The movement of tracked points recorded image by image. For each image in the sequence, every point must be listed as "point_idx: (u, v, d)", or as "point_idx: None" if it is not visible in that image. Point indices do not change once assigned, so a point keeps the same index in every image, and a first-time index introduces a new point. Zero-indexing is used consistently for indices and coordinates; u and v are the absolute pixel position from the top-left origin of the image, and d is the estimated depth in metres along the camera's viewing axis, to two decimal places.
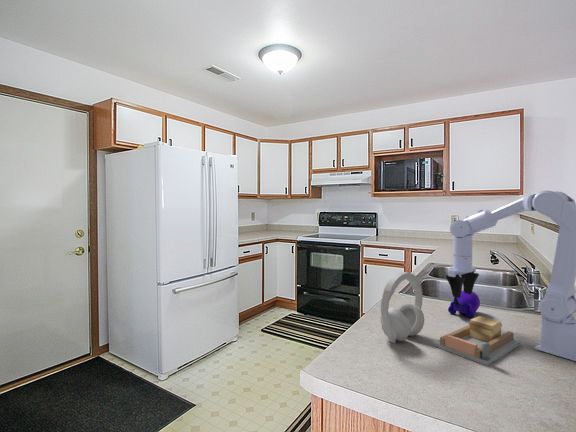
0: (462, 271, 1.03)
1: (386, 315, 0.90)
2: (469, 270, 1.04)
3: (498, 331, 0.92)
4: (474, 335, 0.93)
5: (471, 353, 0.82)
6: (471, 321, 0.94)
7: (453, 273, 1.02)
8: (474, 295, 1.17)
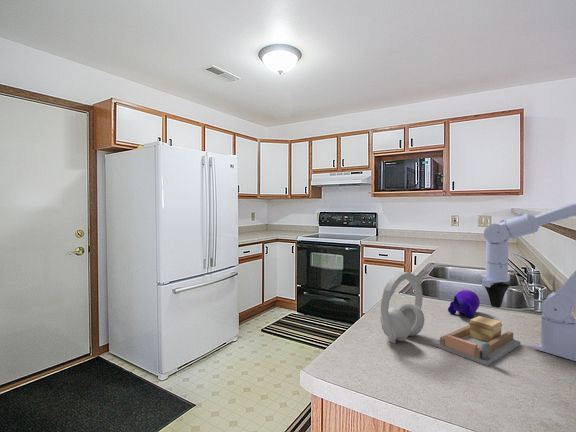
0: (497, 280, 0.94)
1: (386, 315, 0.90)
2: (505, 279, 0.94)
3: (498, 331, 0.92)
4: (474, 335, 0.93)
5: (471, 353, 0.82)
6: (471, 321, 0.94)
7: (488, 283, 0.93)
8: (474, 295, 1.17)
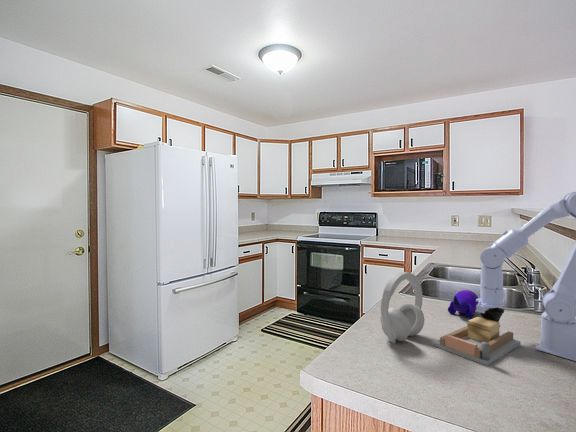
0: (492, 306, 0.92)
1: (386, 315, 0.90)
2: (500, 305, 0.93)
3: (496, 332, 0.91)
4: (472, 336, 0.93)
5: (471, 353, 0.82)
6: (469, 322, 0.93)
7: (482, 309, 0.91)
8: (473, 295, 1.17)
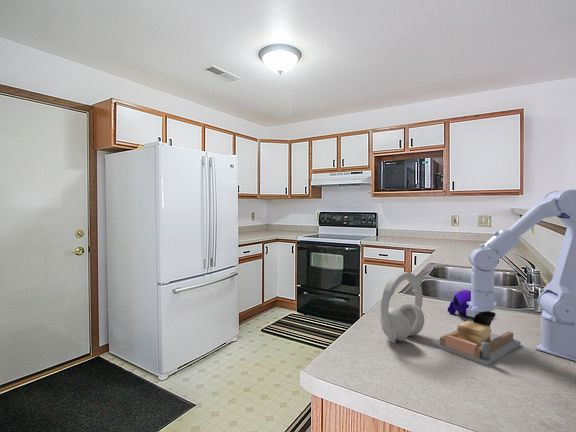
0: (483, 310, 0.89)
1: (386, 315, 0.90)
2: (491, 308, 0.89)
3: (487, 337, 0.88)
4: None
5: (471, 353, 0.82)
6: (459, 326, 0.90)
7: (472, 313, 0.87)
8: None
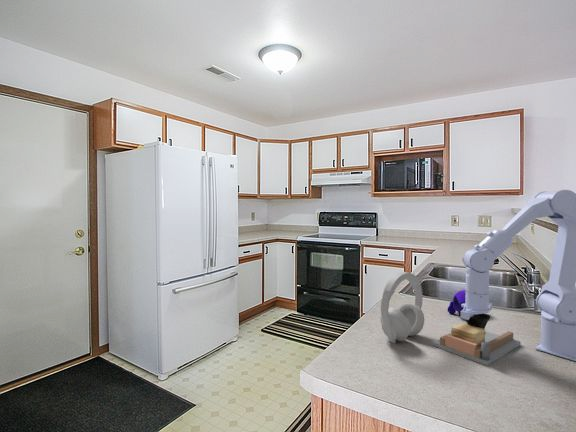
0: (477, 312, 0.87)
1: (386, 315, 0.90)
2: (485, 311, 0.87)
3: (481, 340, 0.86)
4: None
5: (471, 353, 0.82)
6: (453, 329, 0.88)
7: (466, 315, 0.86)
8: None
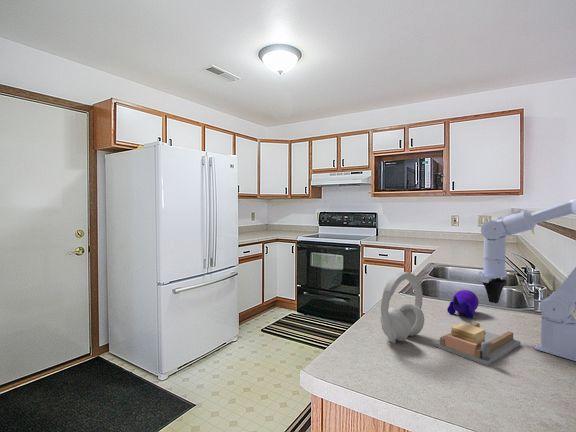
0: (495, 276, 0.95)
1: (386, 315, 0.90)
2: (502, 275, 0.96)
3: (481, 340, 0.86)
4: None
5: (471, 353, 0.82)
6: (453, 329, 0.88)
7: (486, 279, 0.94)
8: (473, 295, 1.17)
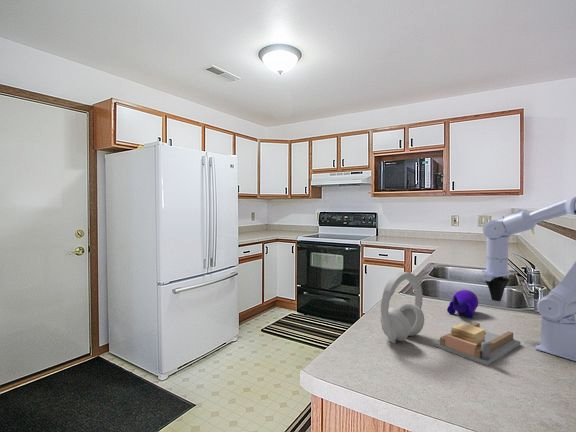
0: (498, 275, 0.97)
1: (386, 315, 0.90)
2: (505, 274, 0.98)
3: (481, 340, 0.86)
4: None
5: (471, 353, 0.82)
6: (453, 329, 0.88)
7: (488, 277, 0.96)
8: (473, 295, 1.17)
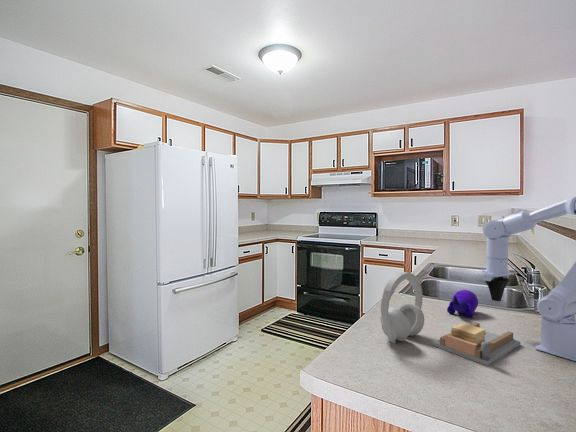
0: (498, 275, 0.97)
1: (386, 315, 0.90)
2: (505, 274, 0.98)
3: (481, 340, 0.86)
4: None
5: (471, 353, 0.82)
6: (453, 329, 0.88)
7: (488, 277, 0.96)
8: (472, 295, 1.17)
